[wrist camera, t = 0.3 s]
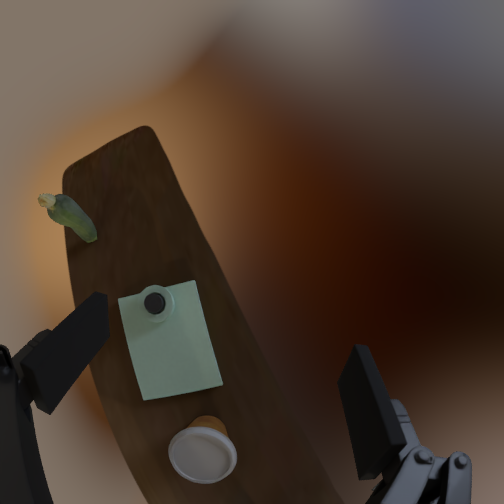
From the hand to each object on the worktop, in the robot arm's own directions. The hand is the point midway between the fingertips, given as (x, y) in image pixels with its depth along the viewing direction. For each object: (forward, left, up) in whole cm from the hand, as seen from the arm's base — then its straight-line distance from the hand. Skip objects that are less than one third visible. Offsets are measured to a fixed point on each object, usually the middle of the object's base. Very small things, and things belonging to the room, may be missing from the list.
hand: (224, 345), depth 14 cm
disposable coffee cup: (-16, +9, -35) cm, 39 cm away
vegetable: (+23, +21, -35) cm, 46 cm away
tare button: (+7, +11, -32) cm, 34 cm away
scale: (+1, +11, -35) cm, 36 cm away
